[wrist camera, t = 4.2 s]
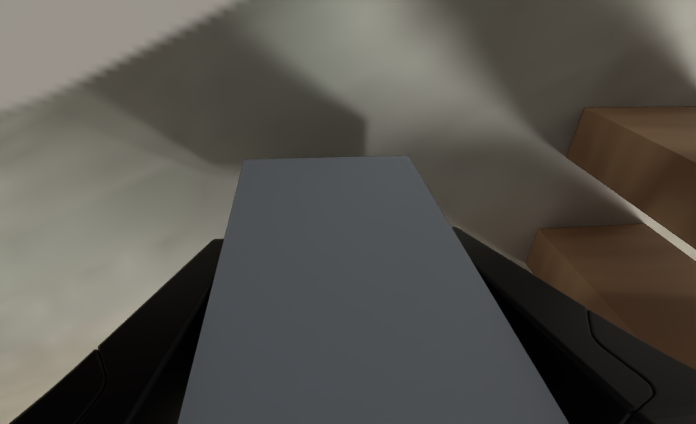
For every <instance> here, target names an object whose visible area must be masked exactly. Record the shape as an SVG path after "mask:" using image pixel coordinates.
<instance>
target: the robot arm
mask: <svg viewBox="0 0 696 424" xmlns="http://www.w3.org/2000/svg"><path fill="white" fill-rule="evenodd" d="M452 229H453V231H454V232H455V234H456V236H457V237H458V239H459V241H460V242H461V244H462V246H463V247H464V249H465V251H466V252H467V254H468V256H469V257H470V259H471V261H472V262H473V264H474V266H475V267H476V269H477V271H478V272H479V274H480V276H481V277H482V279H483V281H484V282H485V284H486V286H487V287H488V289H489V291H490V292H491V294H492V296H493V297H494V299H495V301H496V302H497V304H498V306H499V307H500V309H501V311H502V312H503V314H504V316H505V317H506V319H507V321H508V323H509V324H510V326H511V328H512V329H513V331H514V333H515V334H516V336H517V338H518V339H519V341H520V343H521V344H522V346H523V348H524V349H525V351H526V353H527V354H528V356H529V358H530V359H531V361H532V363H533V364H534V366H535V368H536V369H537V371H538V373H539V374H540V376H541V378H542V379H543V381H544V383H545V384H546V386H547V388H548V389H549V391H550V393H551V394H552V396H553V398H554V399H555V401H556V403H557V404H558V406H559V408H560V409H561V411H562V413H563V414H564V416H565V418H566V419H567V421H568V423H569V424H696V370H695V369H693V368H691V367H689V366H687V365H686V364H684V363H682V362H680V361H678V360H676V359H674V358H673V357H671V356H669V355H667V354H665V353H663V352H662V351H660V350H658V349H656V348H654V347H653V346H651V345H649V344H647V343H645V342H644V341H642V340H640V339H638V338H636V337H635V336H633V335H631V334H630V333H628V332H626V331H625V330H623V329H621V328H620V327H618V326H616V325H615V324H613V323H611V322H609V321H608V320H606V319H605V318H603V317H601V316H600V315H598V314H596V313H595V312H593V311H592V310H587V308H586V307H585V306H583V305H582V304H580V303H578V302H577V301H575V300H574V299H572V298H570V297H569V296H567V295H566V294H564V293H562V292H561V291H559V290H557V289H556V288H554V287H553V286H551V285H549V284H548V283H546V282H544V281H543V280H541V279H540V278H538V277H536V276H535V275H533V274H531V273H530V272H528V271H527V270H525V269H523V268H522V267H520V266H518V265H517V264H515V263H514V262H512V261H510V260H509V259H507V258H506V257H504V256H502V255H501V254H499V253H497V252H496V251H494V250H493V249H491V248H489V247H488V246H486V245H484V244H483V243H481V242H480V241H478V240H476V239H475V238H473V237H471V236H470V235H468V234H467V233H465V232H463V231H462V230H460V229H458V228H457V227H452ZM223 241H224V239H214V240H212V241H211V242H210V243H209V244H208V245H207V246H206V247H204V248H203V249H202V250H201V251H200V252H199V253H198V254H197V255H196V256H195V257H194V258H193V259H191V260H190V261H189V262H188V263H187V264H186V265H185V266H184V267H183V268H182V269H181V270H180V271H179V272H177V273H176V274H175V275H174V276H173V277H172V278H171V279H170V280H169V281H168V282H167V283H166V284H165V285H163V286H162V287H161V288H160V289H159V290H158V291H157V292H156V293H155V294H154V295H153V296H152V297H151V298H149V299H148V300H147V301H146V302H145V303H144V304H143V305H142V306H141V307H140V308H139V309H138V310H137V311H135V312H134V313H133V314H132V315H131V316H130V317H129V318H128V319H127V320H126V321H125V322H124V323H123V324H121V325H120V326H119V327H118V328H117V329H116V330H115V331H114V332H113V333H112V334H111V335H110V336H109V337H107V338H106V339H105V340H104V341H103V342H102V343H101V344H100V345H99V346H98V350H97V349H95V350H93V351H92V352H91V353H90V354H89V355H88V356H87V357H86V358H85V359H84V360H82V361H81V362H80V363H79V364H78V365H77V366H76V367H75V368H74V369H73V370H71V371H70V372H69V373H68V374H67V375H66V376H65V377H64V378H62V379H61V380H60V381H59V382H58V383H57V384H56V385H55V386H54V387H52V388H51V389H50V390H49V391H48V392H47V393H45V394H44V395H43V396H42V397H41V398H39V399H38V400H37V401H36V402H35V403H33V404H32V405H31V406H30V407H29V408H27V409H26V410H25V411H24V412H23V413H21V414H20V415H19V416H18V417H17V418H15V419H14V420H13V421H12V422H10V423H9V424H178V420H179V416H180V412H181V408H182V404H183V400H184V396H185V392H186V388H187V384H188V380H189V376H190V373H191V369H192V365H193V361H194V357H195V353H196V349H197V345H198V341H199V337H200V333H201V329H202V325H203V321H204V317H205V313H206V309H207V305H208V301H209V297H210V293H211V289H212V285H213V281H214V277H215V273H216V269H217V265H218V261H219V257H220V253H221V249H222V245H223Z"/></svg>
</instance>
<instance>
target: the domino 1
mask: <svg viewBox="0 0 696 424" xmlns="http://www.w3.org/2000/svg"><path fill="white" fill-rule="evenodd" d="M178 424H569V423H568V421H567V419H566V418H565V416H564V414H563V413H562V411H561V409H560V408H559V406H558V404H557V403H556V401H555V399H554V398H553V396H552V394H551V393H550V391H549V389H548V388H547V386H546V384H545V383H544V381H543V379H542V378H541V376H540V374H539V373H538V371H537V369H536V368H535V366H534V364H533V363H532V361H531V359H530V358H529V356H528V354H527V353H526V351H525V349H524V348H523V346H522V344H521V343H520V341H519V339H518V338H517V336H516V334H515V333H514V331H513V329H512V328H511V326H510V324H509V323H508V321H507V319H506V317H505V316H504V314H503V312H502V311H501V309H500V307H499V306H498V304H497V302H496V301H495V299H494V297H493V296H492V294H491V292H490V291H489V289H488V287H487V286H486V284H485V282H484V281H483V279H482V277H481V276H480V274H479V272H478V271H477V269H476V267H475V266H474V264H473V262H472V261H471V259H470V257H469V256H468V254H467V252H466V251H465V249H464V247H463V246H462V244H461V242H460V241H459V239H458V237H457V236H456V234H455V232H454V231H453V229H452V227H451V226H450V224H449V222H448V221H447V219H446V217H445V216H444V214H443V212H442V211H441V209H440V207H439V206H438V204H437V202H436V201H435V199H434V197H433V196H432V194H431V192H430V191H429V189H428V187H427V186H426V184H425V182H424V181H423V179H422V177H421V176H420V174H419V172H418V171H417V169H416V167H415V166H414V164H413V162H412V161H411V159H410V157H409V156H408V155H398V156H360V157H323V158H285V159H247V160H244V162H243V166H242V170H241V174H240V178H239V182H238V186H237V190H236V194H235V198H234V202H233V206H232V209H231V213H230V217H229V221H228V225H227V229H226V233H225V237H224V241H223V245H222V249H221V253H220V257H219V261H218V265H217V269H216V273H215V277H214V281H213V285H212V289H211V293H210V297H209V301H208V305H207V309H206V313H205V317H204V321H203V325H202V329H201V333H200V337H199V341H198V345H197V349H196V353H195V357H194V361H193V365H192V369H191V373H190V376H189V380H188V384H187V388H186V392H185V396H184V400H183V404H182V408H181V412H180V416H179V420H178Z"/></svg>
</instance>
